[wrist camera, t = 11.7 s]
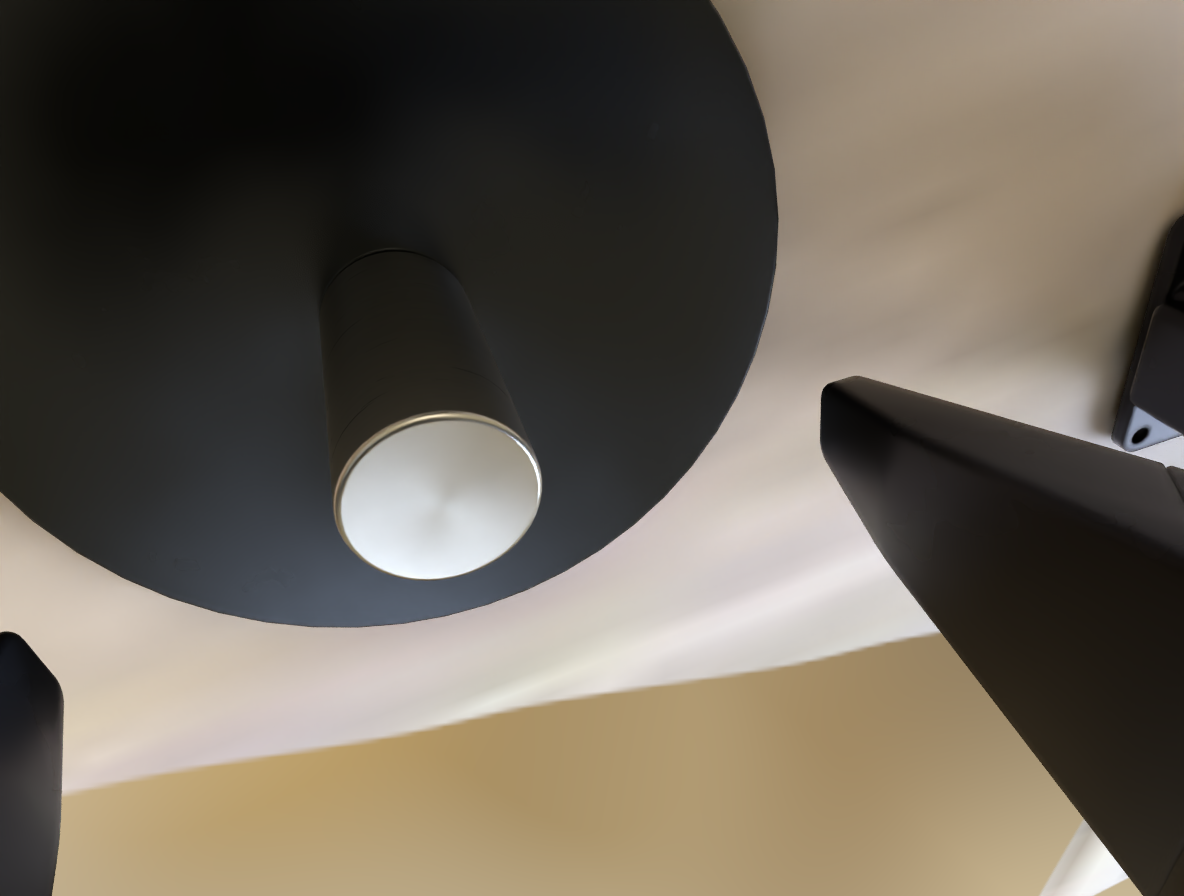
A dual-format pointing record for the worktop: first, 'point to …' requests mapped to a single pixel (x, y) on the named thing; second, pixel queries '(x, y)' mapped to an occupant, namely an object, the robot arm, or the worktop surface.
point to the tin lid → (369, 288)
